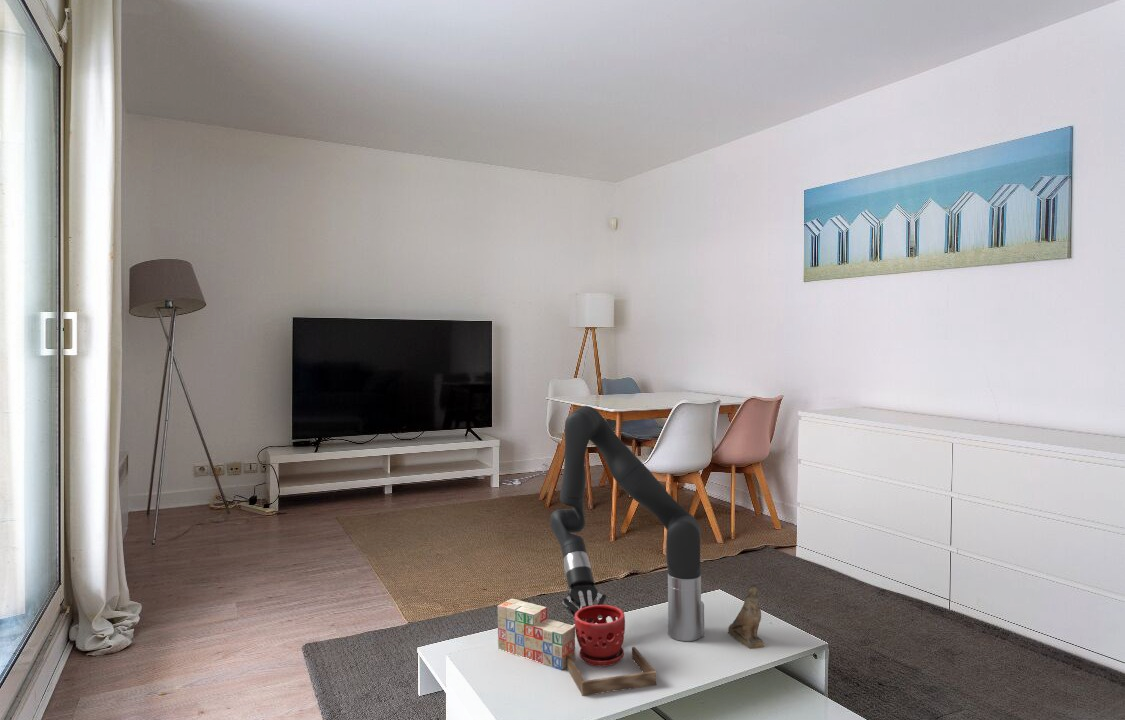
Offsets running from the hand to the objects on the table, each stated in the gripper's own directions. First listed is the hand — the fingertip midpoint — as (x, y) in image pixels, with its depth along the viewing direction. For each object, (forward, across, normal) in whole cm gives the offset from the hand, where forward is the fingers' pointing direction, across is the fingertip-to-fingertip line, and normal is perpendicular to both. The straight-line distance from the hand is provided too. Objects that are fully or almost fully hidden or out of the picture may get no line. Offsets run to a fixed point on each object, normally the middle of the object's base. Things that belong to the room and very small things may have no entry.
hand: (590, 631), depth 178 cm
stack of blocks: (+3, -15, +4) cm, 16 cm away
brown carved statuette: (+7, +43, 0) cm, 44 cm away
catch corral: (+14, 0, -7) cm, 16 cm away
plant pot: (+8, +1, -1) cm, 8 cm away
